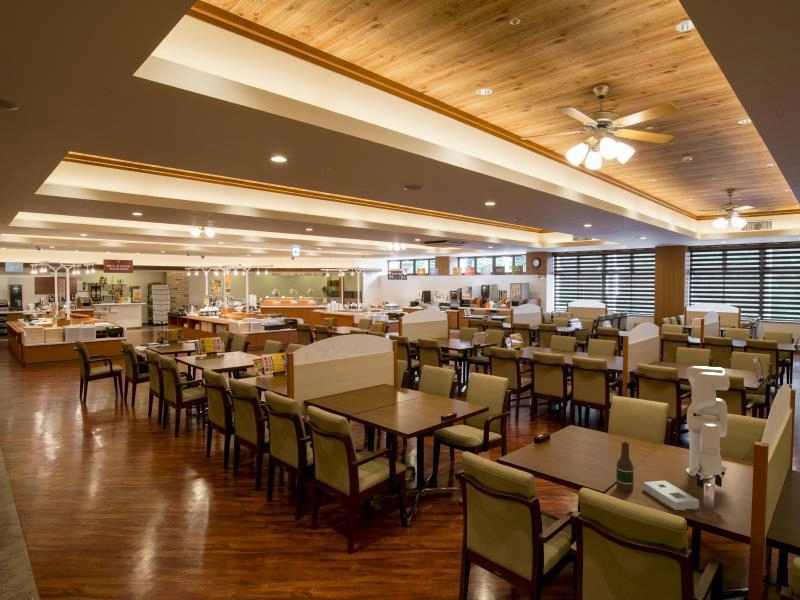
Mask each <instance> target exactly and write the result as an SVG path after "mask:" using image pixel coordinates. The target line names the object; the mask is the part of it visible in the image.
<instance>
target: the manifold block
mask: <svg viewBox="0 0 800 600" xmlns="http://www.w3.org/2000/svg"><path fill="white" fill-rule="evenodd" d="M642 490H643V491H644V492H646V493H647V494H649V495H651V496H652V497H653V498H655V499H656V500H658V501H660V502H661V503H663V504H664V503H665V504H664V505H666V506H667V505H668V506H667V507H669V506H670V507H672V508H673V509H675V510H682V511H686V510H685V509H693V510H698V509H697V508H699V509H700V500H699V499H697V498H696V497H694V496H692V495H691V494H689V493H687V492H685V491H684V490H682V489H680V488H679V487H677V486H675V485H673V483H672V484H671V483H670V482H668V481H667V480H655V481H643V489H642ZM670 507H669V508H670ZM672 508H671V509H672ZM694 508H695V509H694ZM673 509H672V510H673ZM675 510H674V511H675Z"/></svg>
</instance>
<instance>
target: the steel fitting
mask: <svg viewBox="0 0 800 600" xmlns="http://www.w3.org/2000/svg"><path fill="white" fill-rule="evenodd" d="M704 505H705V506H704ZM703 506H704V507H706V506H707V507H706V508H709V507H713V508H714V507H715V484H712V483H709V482H704V483H703Z"/></svg>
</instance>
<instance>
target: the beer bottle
mask: <svg viewBox="0 0 800 600" xmlns="http://www.w3.org/2000/svg"><path fill="white" fill-rule="evenodd" d="M620 445H621V453H620V457H619V458H618V460H617V462H616V472H615V473H616V477H615V478H616V480H615V481H616V483H615V484H616V485H615V486H616V488H617V490H618V491H619V492H622V493H629V494H630V493H632V492H634V471H635V470H634V465H633V461H631V459H630V443H629V442H627V441H622V442H621V444H620Z"/></svg>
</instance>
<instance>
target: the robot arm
mask: <svg viewBox="0 0 800 600" xmlns="http://www.w3.org/2000/svg"><path fill="white" fill-rule="evenodd" d="M686 376H687V379H688V382H689V384H690V386H691V404H690V405H689V406H688V408H687V410H686V411H687V412H686V427H687V430H688V431H689V462H688V463H689V464H688V465H689V467H687V468H686V469H685V472H686V474H687V475H689V476H691V477H694V478H696V487H698V488H700V489H704V483H705V482H704V479H713V478H714V486H715V485H716V486H718V487H720V488H721V487H722V485H723V478H724V476H725V474H726V471H727V469H728V468H726V467H725V466H724V465H723V463H722V462H723V461H722V456H721V453H720V451H721V449H722V448H721V447H720V446H721V438H724V437H726V436H727V434H728V405H727V402H726V401H725V400H724V399H722V398H718V397H717V393H716V390H717V391H728V390H729V389H730V378H729V375H728V373H727V371H726V370H725V368H723V367H717V366H716V367H715V366H714V367H713V366H703V365H702V366H700V365H697V366H696V365H693V366H689V367H687V369H686ZM694 414H698V416H697V415H696V416H694ZM700 415H702V416H700ZM703 415H704V416H703ZM707 416H713V417H714V418H713V417H707ZM715 417H716V418H715Z"/></svg>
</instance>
